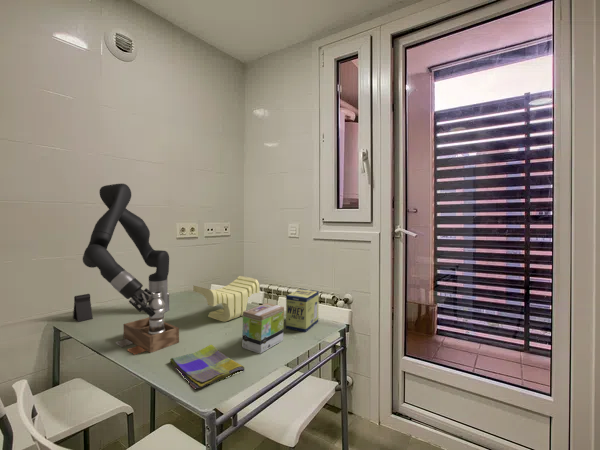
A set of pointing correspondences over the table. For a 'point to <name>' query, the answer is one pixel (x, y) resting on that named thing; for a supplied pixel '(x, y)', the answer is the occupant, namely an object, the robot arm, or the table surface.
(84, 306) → the black coffee bag
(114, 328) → the table surface
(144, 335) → the box
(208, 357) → the dish towel
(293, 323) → the protein box
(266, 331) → the tea box
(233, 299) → the slatted curved stool
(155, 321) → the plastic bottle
